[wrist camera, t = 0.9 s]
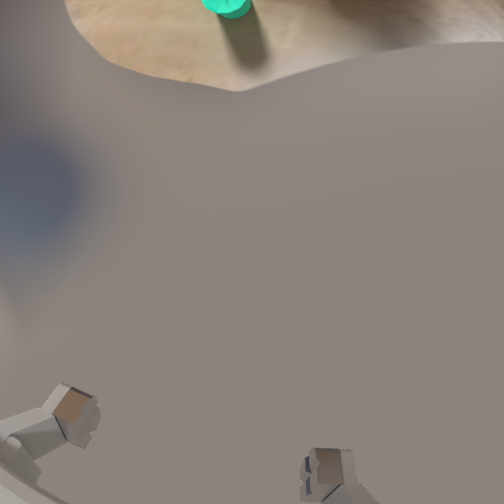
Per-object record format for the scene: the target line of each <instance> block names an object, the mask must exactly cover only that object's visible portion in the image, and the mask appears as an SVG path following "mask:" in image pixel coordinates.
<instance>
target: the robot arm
mask: <svg viewBox="0 0 504 504" xmlns="http://www.w3.org/2000/svg"><path fill="white" fill-rule="evenodd" d="M97 403H98V402H97V399H96V397H95V396H93V395H90V394H88V393H86V392H83V391H81V390H79V389H76V388H75V387H73V386H71V385H68V384H66V383H64V382H62V383H60V384H59V385H58V386H57V388H56V389H55V390H54V392H53V393H52V394H51V396H50V397H49V398H48V400H47V401H46V402H45V404H44V405H43V407H42V408H39V407H37V408H35V409H32V410H29V411H26V412H24V413H21V414H19V415H15V416H13V417H10V418H7V419H4V420H1V421H0V504H69V503H67V502H66V501H64V500H62V499H60V498H58V497H56V496H55V495H53V494H51V493H49V492H48V491H46V490H44V489H43V488H41V487H39V486H38V485H36V482H37V480H38V478H39V476H40V474H41V469H40V468H39V467H38V465H37V464H36V463H35V461H34V460H36V459H38V458H39V457H41V456H43V455H45V454H47V453H49V452H51V451H52V450H54V449H56V448H58V447H59V446H61V445H63V444H65V443H66V442H67V441H68V442H70V443H72V444H74V445H76V446H79V447H81V448H83V449H85V448H86V447H87V445H88V443H89V441H90V439H91V434H90V432H91V431H93V430H96V428H97V426H98V424H99V421H100V409H99V408H98V407H97V406H96V404H97ZM300 478H301V480H302V481H303V482H304V484H303V485H302V486H301V487H300V501H306V502H321V504H379V503H378V501H376V500H375V498H374V497H373V496H372V495H371V494H370V493H369V492H368V491H367V490H366V489H365V488H364V487H363V485H362V484H358V482H357V475H356V469H355V463H354V456H353V452H352V450H350V449H332V448H312V449H311V450H310V451H309V456H308V457H306V458H305V459H304V460H303V462H302V465H301V470H300Z"/></svg>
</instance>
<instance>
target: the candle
mask: <svg viewBox="0 0 504 504" xmlns="http://www.w3.org/2000/svg"><path fill="white" fill-rule="evenodd" d="M202 2H203V4H204V5H205V7H206V8H207V9H209V10H211V11H213V12H215V13H217V14H219V15H221V16H223V17H225V18H231V19H237V18H239V17H241V16H243V15H245V14H246V13H247V12H248V10H249V9H250V8H251V0H202Z"/></svg>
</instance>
